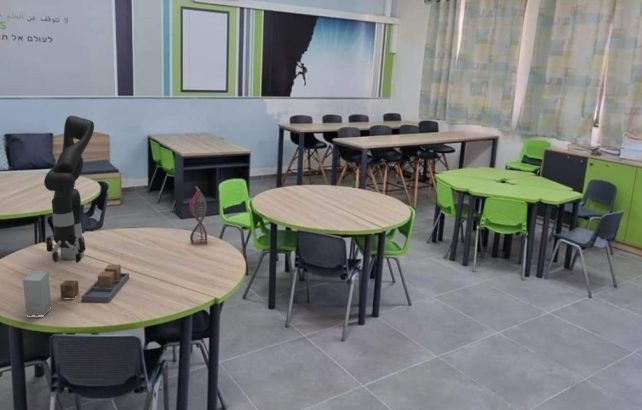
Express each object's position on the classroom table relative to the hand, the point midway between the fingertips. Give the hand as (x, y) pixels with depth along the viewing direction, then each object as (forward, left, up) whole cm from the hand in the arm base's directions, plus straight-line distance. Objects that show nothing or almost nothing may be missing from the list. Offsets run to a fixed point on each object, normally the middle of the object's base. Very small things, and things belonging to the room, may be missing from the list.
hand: (67, 261), depth 219 cm
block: (0, 0, -15) cm, 15 cm away
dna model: (+38, +68, -15) cm, 79 cm away
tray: (+12, +8, -15) cm, 21 cm away
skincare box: (-5, -15, -15) cm, 22 cm away
